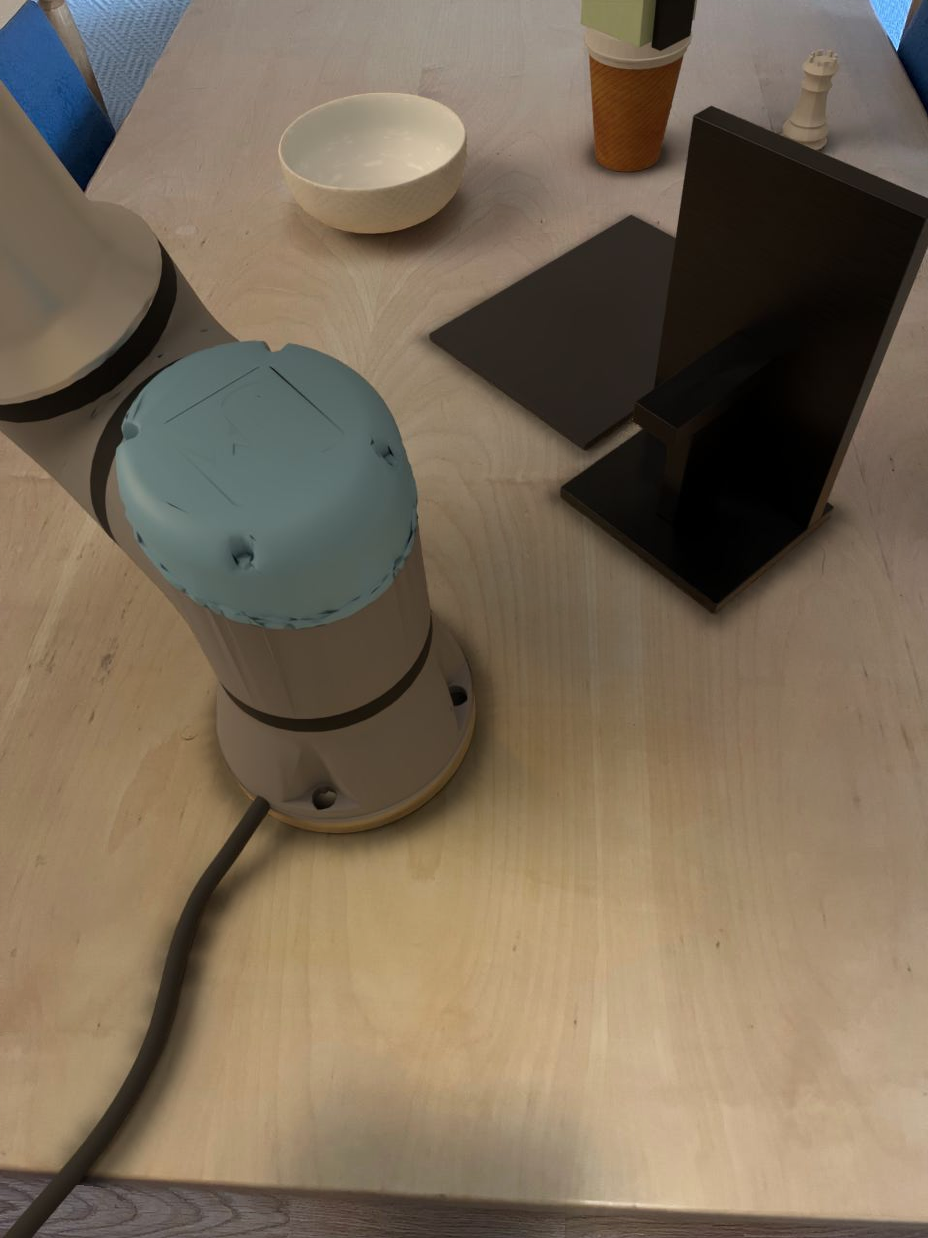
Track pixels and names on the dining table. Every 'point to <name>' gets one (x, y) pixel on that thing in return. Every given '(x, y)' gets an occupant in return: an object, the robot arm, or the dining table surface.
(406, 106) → the cereal bowl
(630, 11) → the sage block
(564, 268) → the desk mat
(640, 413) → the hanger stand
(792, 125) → the rook chess piece
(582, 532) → the dining table surface
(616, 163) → the disposable coffee cup
